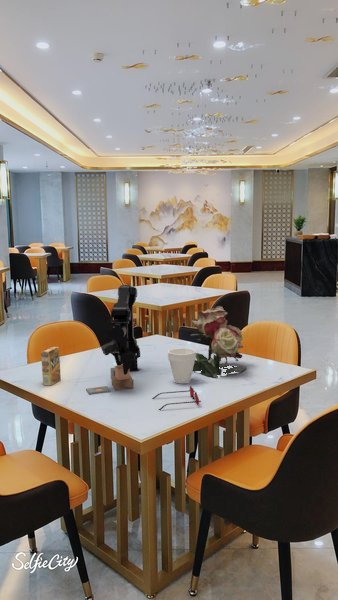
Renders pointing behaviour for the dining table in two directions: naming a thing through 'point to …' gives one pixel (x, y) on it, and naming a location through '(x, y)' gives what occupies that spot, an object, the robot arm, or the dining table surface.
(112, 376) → the charcoal block
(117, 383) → the walnut block
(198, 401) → the glasses
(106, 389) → the card
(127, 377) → the terracotta block
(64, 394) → the dining table surface
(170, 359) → the cup
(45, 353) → the candy box
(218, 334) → the rose bouquet
